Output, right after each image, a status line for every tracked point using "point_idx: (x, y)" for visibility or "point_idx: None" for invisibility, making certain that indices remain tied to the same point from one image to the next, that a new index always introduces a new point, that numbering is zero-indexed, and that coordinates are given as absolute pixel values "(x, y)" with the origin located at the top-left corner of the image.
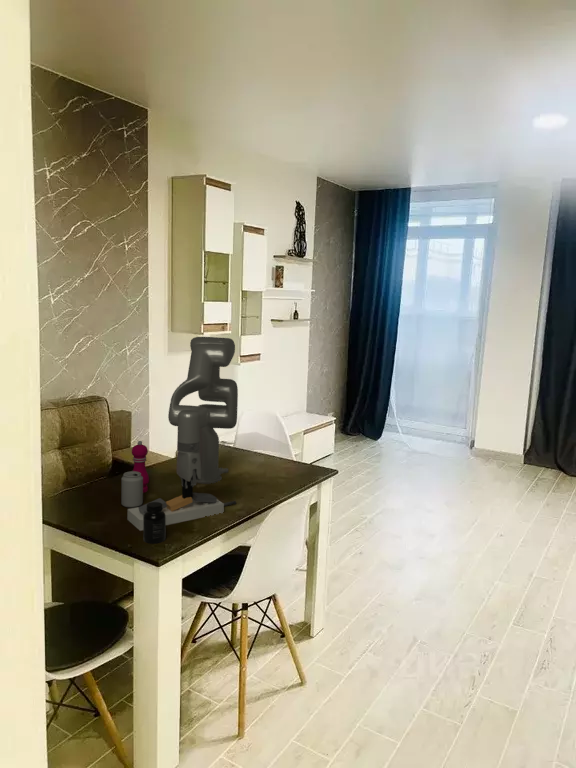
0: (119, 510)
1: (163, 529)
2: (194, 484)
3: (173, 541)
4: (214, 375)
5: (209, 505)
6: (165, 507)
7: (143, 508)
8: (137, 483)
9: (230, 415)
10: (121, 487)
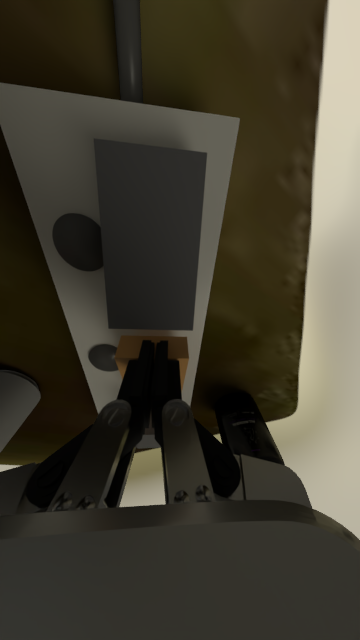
0: (48, 408)
1: (267, 427)
2: (293, 488)
3: (261, 384)
4: None
5: (204, 239)
6: None
7: (156, 446)
8: None
9: None
10: None
